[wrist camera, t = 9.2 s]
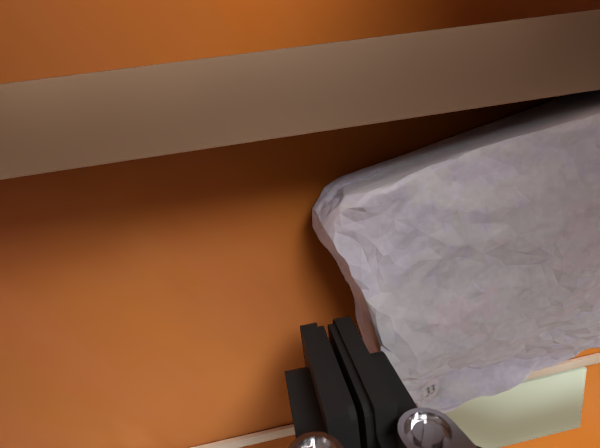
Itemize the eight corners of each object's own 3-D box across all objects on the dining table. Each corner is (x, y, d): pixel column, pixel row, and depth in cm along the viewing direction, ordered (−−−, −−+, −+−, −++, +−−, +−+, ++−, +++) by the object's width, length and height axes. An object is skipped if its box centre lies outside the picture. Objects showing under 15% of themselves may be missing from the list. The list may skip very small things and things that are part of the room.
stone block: (585, 268, 18) (609, 52, 13) (692, 341, 14) (788, 65, 9) (354, 353, 18) (290, 167, 13) (393, 452, 14) (322, 236, 9)
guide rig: (-319, 140, 10) (-540, 151, 7) (671, 12, 13) (790, -15, 10) (-45, 580, 15) (-111, 688, 12) (613, 414, 18) (681, 469, 16)
